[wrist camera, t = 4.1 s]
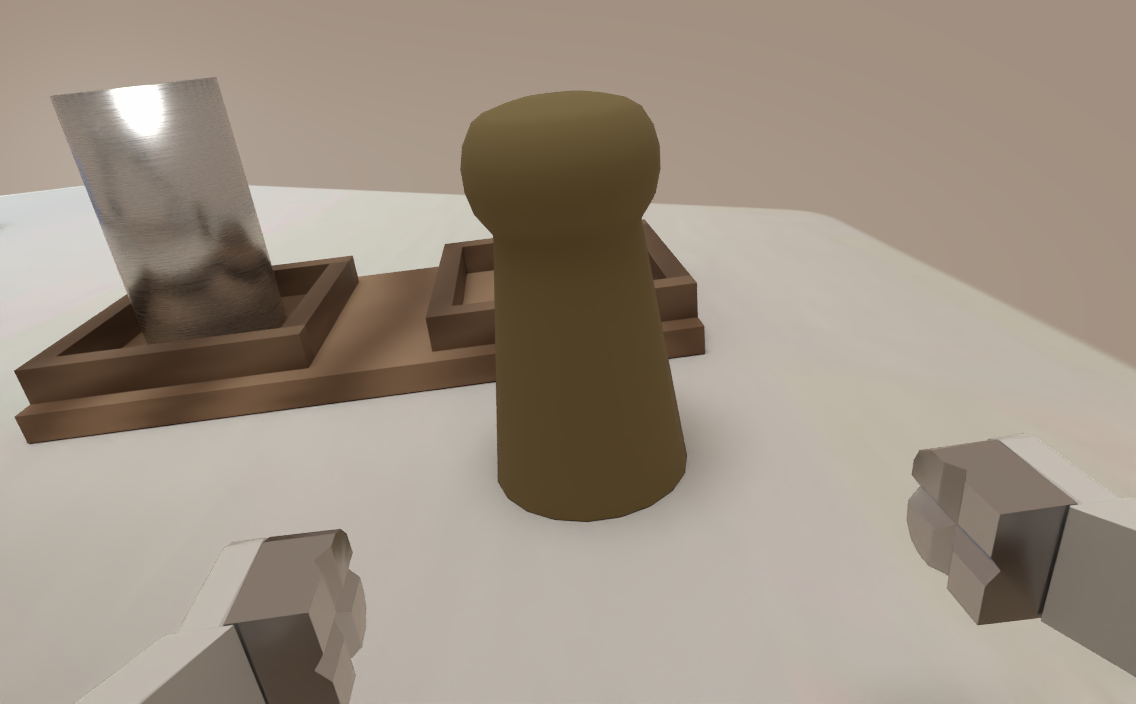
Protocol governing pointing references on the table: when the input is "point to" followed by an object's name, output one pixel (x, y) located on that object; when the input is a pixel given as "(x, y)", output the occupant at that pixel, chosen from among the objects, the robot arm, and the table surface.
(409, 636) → the table surface
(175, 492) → the table surface
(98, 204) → the steel cylinder
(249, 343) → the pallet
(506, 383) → the cork
